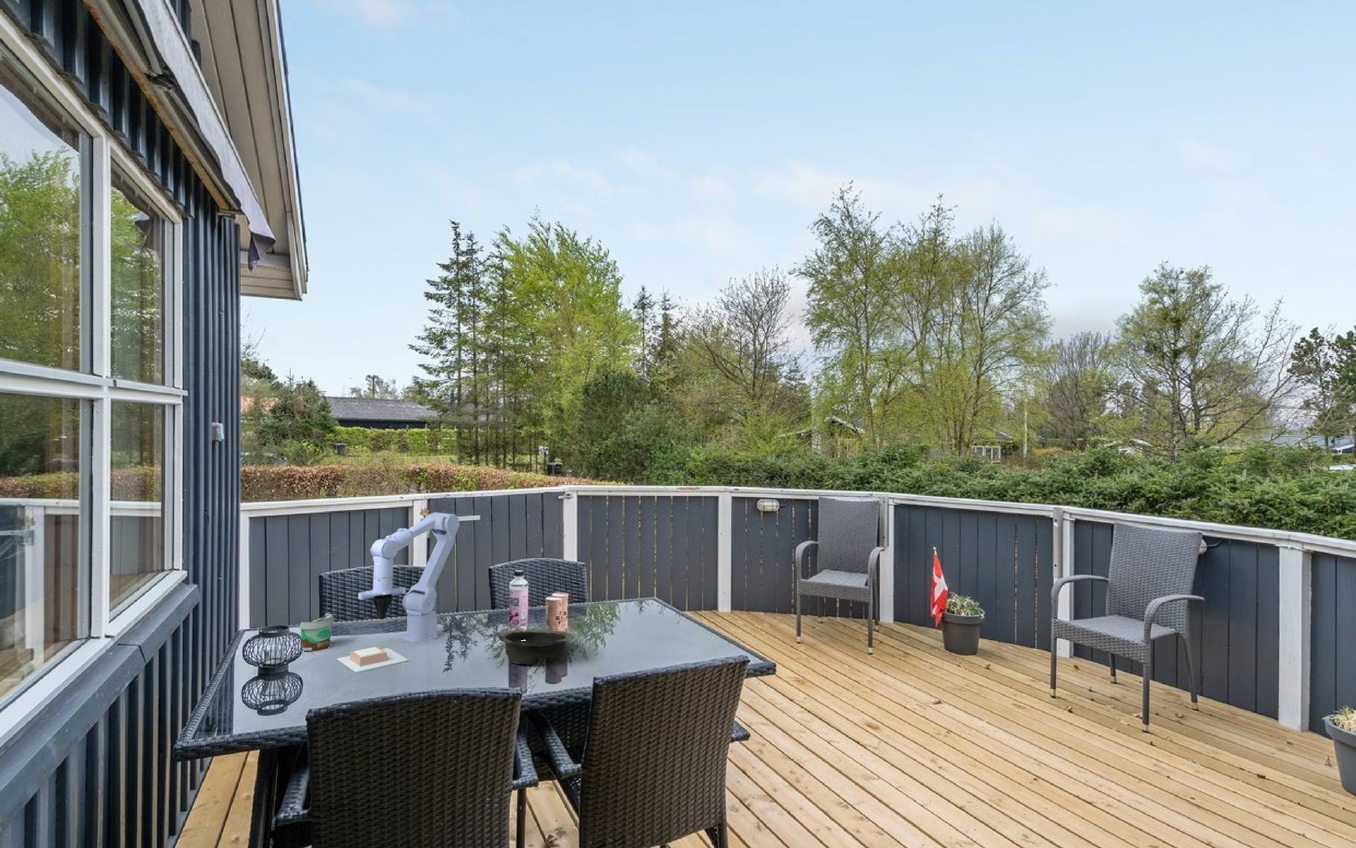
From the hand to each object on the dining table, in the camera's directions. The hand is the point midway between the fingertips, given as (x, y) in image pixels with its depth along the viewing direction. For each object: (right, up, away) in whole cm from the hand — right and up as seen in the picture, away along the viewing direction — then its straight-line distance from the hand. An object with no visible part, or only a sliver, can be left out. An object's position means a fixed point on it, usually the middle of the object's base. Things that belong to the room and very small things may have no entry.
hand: (381, 618), depth 224 cm
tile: (+3, -9, -8) cm, 12 cm away
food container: (-20, -10, 0) cm, 22 cm away
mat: (+1, -10, -10) cm, 14 cm away
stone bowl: (+51, -12, -2) cm, 52 cm away
